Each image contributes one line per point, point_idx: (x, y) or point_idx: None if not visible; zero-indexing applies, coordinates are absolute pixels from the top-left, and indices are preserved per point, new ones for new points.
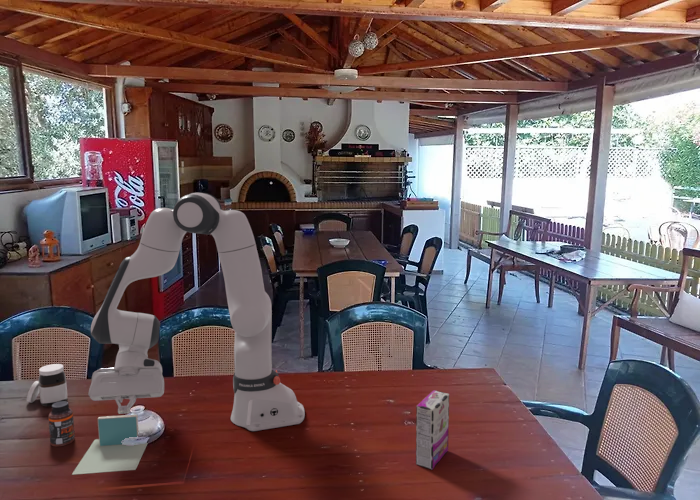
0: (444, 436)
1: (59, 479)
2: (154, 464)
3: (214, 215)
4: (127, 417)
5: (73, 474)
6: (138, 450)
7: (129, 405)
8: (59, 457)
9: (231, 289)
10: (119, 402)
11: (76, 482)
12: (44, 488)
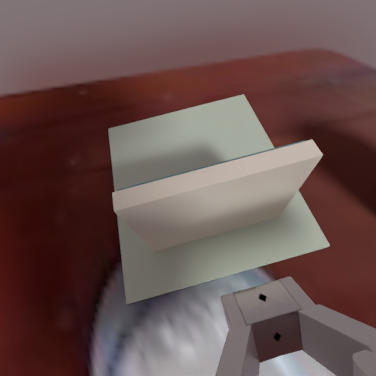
0: None
1: (261, 88)
2: (74, 160)
3: None
4: (161, 181)
5: (239, 95)
6: None
7: (232, 335)
8: (349, 150)
9: None
10: (343, 347)
11: (217, 87)
12: (266, 66)
